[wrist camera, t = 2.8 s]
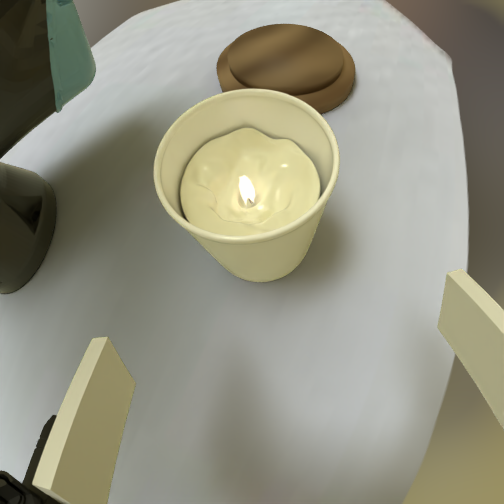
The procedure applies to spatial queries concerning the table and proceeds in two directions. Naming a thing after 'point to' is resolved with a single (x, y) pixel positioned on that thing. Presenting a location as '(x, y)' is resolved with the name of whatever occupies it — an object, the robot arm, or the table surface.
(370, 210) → the table surface
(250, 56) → the walnut pedestal
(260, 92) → the candle holder
